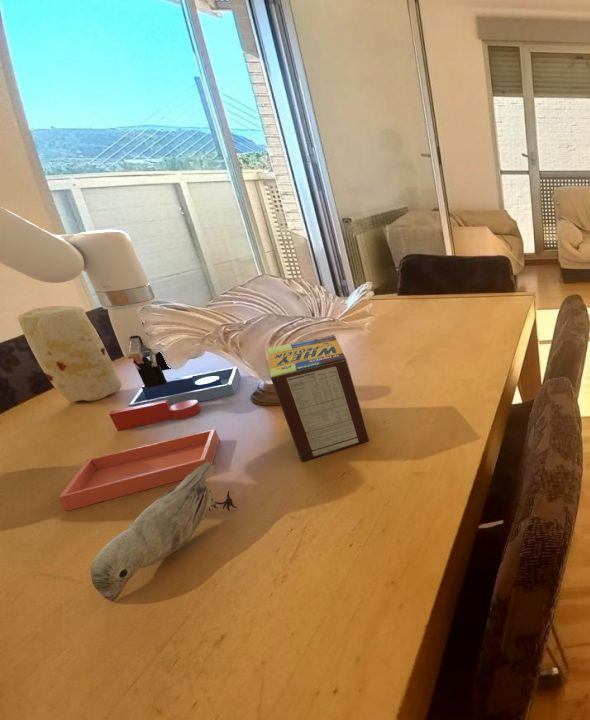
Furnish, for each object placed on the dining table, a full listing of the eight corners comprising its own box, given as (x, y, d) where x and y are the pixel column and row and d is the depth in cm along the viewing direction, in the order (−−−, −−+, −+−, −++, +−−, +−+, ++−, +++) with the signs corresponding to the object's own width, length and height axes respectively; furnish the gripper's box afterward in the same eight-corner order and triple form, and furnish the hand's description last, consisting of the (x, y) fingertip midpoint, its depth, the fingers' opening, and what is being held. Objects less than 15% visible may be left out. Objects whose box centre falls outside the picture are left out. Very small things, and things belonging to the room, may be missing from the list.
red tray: (66, 511, 67) (57, 497, 66) (94, 471, 76) (87, 459, 75) (209, 472, 75) (204, 459, 74) (220, 440, 84) (215, 428, 83)
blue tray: (133, 415, 93) (128, 405, 92) (148, 394, 102) (143, 384, 101) (234, 394, 101) (230, 384, 100) (240, 376, 110) (237, 366, 109)
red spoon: (114, 434, 87) (106, 417, 85) (122, 424, 90) (114, 408, 89) (199, 415, 93) (192, 399, 91) (203, 406, 96) (196, 391, 95)
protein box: (356, 407, 93) (334, 333, 87) (370, 441, 82) (347, 358, 76) (293, 425, 88) (266, 347, 82) (299, 463, 76) (268, 376, 70)
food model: (127, 385, 107) (85, 299, 99) (124, 395, 102) (79, 306, 94) (64, 399, 101) (14, 309, 93) (58, 410, 96) (5, 316, 89)
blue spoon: (146, 405, 96) (139, 389, 95) (152, 397, 100) (144, 382, 99) (221, 389, 102) (215, 375, 101) (223, 382, 106) (218, 368, 104)
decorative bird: (87, 603, 52) (53, 552, 50) (209, 506, 67) (188, 462, 64) (133, 604, 52) (102, 553, 49) (245, 506, 67) (227, 462, 64)
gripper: (115, 290, 96) (149, 367, 103) (83, 310, 83) (125, 397, 89) (163, 285, 100) (193, 359, 107) (140, 303, 86) (176, 387, 93)
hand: (162, 377), depth 98 cm, fingers open, 9 cm apart
